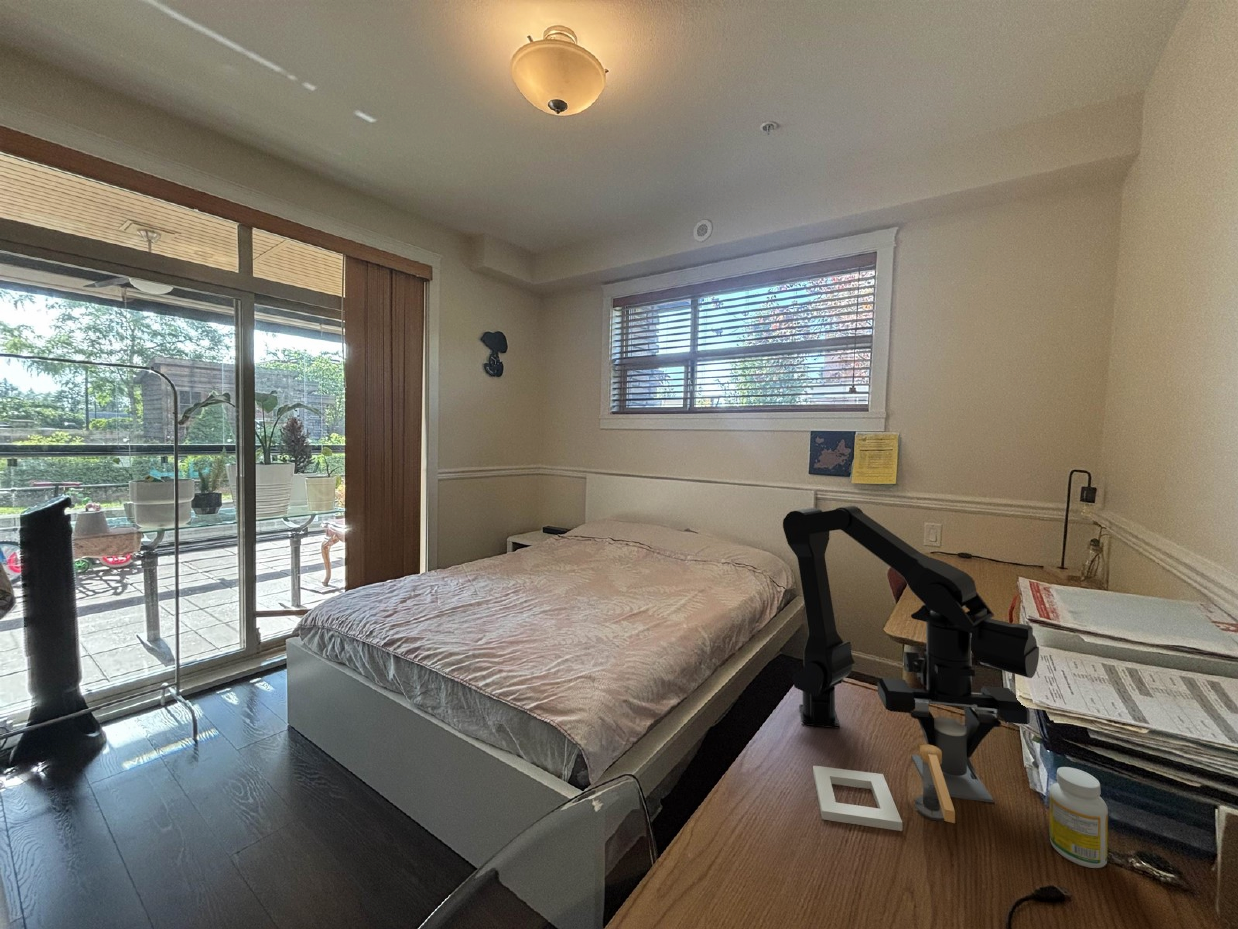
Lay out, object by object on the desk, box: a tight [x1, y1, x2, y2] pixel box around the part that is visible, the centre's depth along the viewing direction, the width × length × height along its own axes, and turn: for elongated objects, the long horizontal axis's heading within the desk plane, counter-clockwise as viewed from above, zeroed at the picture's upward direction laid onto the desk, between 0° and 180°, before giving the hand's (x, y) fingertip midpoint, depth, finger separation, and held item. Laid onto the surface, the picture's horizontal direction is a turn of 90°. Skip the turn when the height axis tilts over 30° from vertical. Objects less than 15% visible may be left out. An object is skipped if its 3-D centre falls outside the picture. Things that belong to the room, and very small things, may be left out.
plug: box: [934, 716, 967, 776], centre depth 76 cm, size 4×4×6 cm
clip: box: [919, 743, 956, 824], centre depth 65 cm, size 3×14×1 cm, turn 157°
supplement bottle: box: [1049, 766, 1109, 869], centre depth 62 cm, size 5×5×10 cm
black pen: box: [967, 758, 979, 783], centre depth 80 cm, size 12×1×1 cm, turn 157°
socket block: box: [812, 765, 903, 832], centre depth 72 cm, size 10×10×1 cm
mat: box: [910, 754, 995, 803], centre depth 76 cm, size 9×8×1 cm
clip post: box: [914, 761, 945, 822], centre depth 70 cm, size 4×4×7 cm
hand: (949, 754), depth 76 cm, fingers open, 4 cm apart
